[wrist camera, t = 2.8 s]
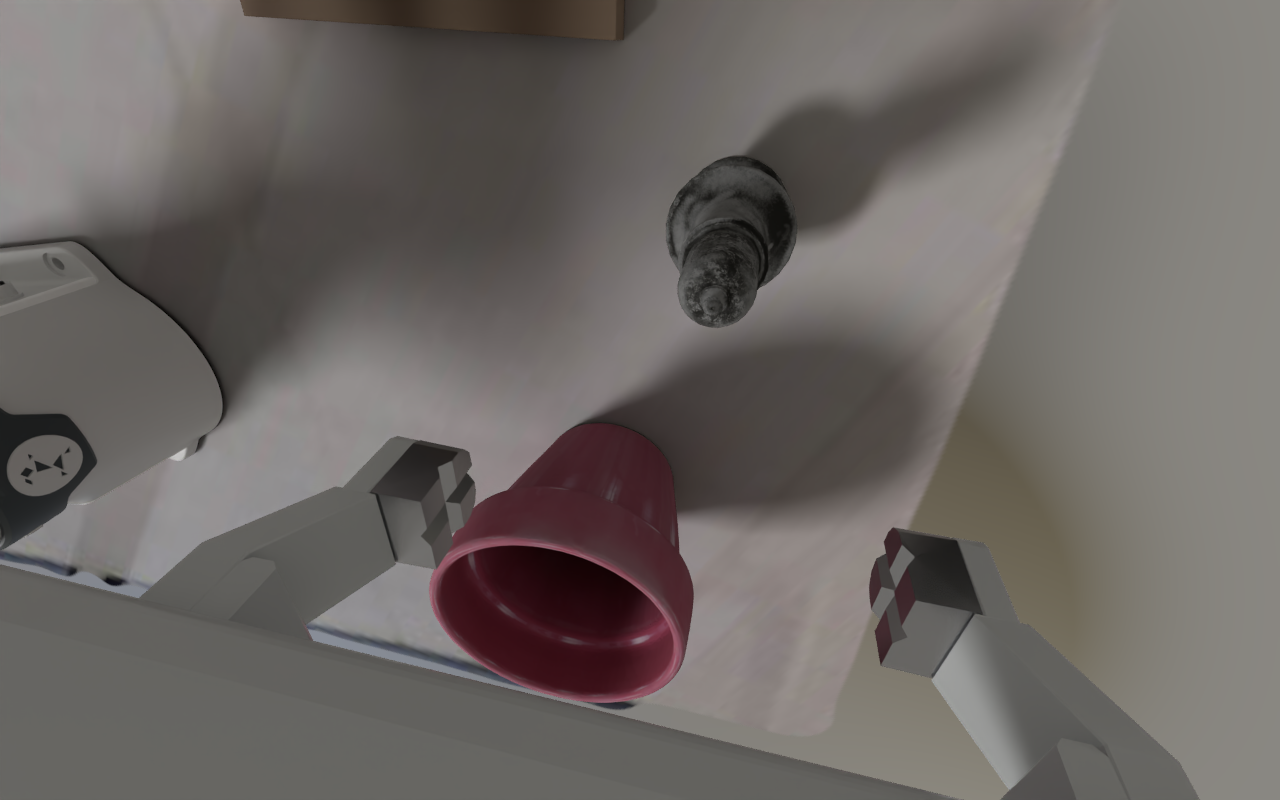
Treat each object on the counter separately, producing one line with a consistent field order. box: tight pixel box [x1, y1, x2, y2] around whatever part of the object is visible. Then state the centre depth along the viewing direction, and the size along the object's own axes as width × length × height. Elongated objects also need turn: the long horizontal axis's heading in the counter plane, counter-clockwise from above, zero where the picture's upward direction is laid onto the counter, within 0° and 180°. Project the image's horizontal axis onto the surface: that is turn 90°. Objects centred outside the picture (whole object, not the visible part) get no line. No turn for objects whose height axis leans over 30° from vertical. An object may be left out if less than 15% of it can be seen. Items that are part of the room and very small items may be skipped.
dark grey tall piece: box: [666, 157, 797, 328], centre depth 23 cm, size 6×6×12 cm
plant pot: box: [429, 423, 694, 703], centre depth 34 cm, size 14×14×13 cm
